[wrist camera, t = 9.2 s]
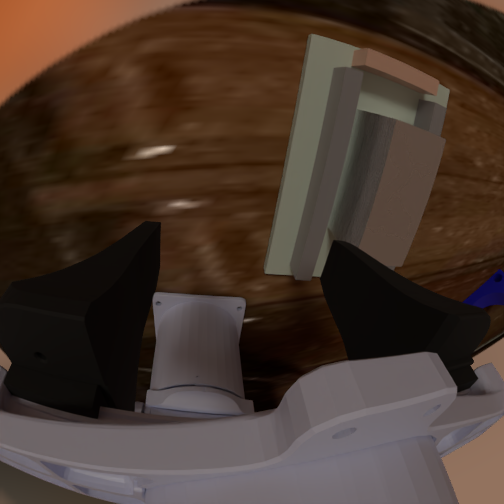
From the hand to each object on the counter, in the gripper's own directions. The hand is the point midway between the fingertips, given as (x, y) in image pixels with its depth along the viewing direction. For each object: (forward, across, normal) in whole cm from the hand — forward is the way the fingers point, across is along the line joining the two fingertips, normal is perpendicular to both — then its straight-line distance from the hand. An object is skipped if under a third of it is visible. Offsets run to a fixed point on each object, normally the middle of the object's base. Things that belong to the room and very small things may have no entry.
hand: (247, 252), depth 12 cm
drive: (+8, -9, -2) cm, 13 cm away
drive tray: (+9, -9, -2) cm, 13 cm away
